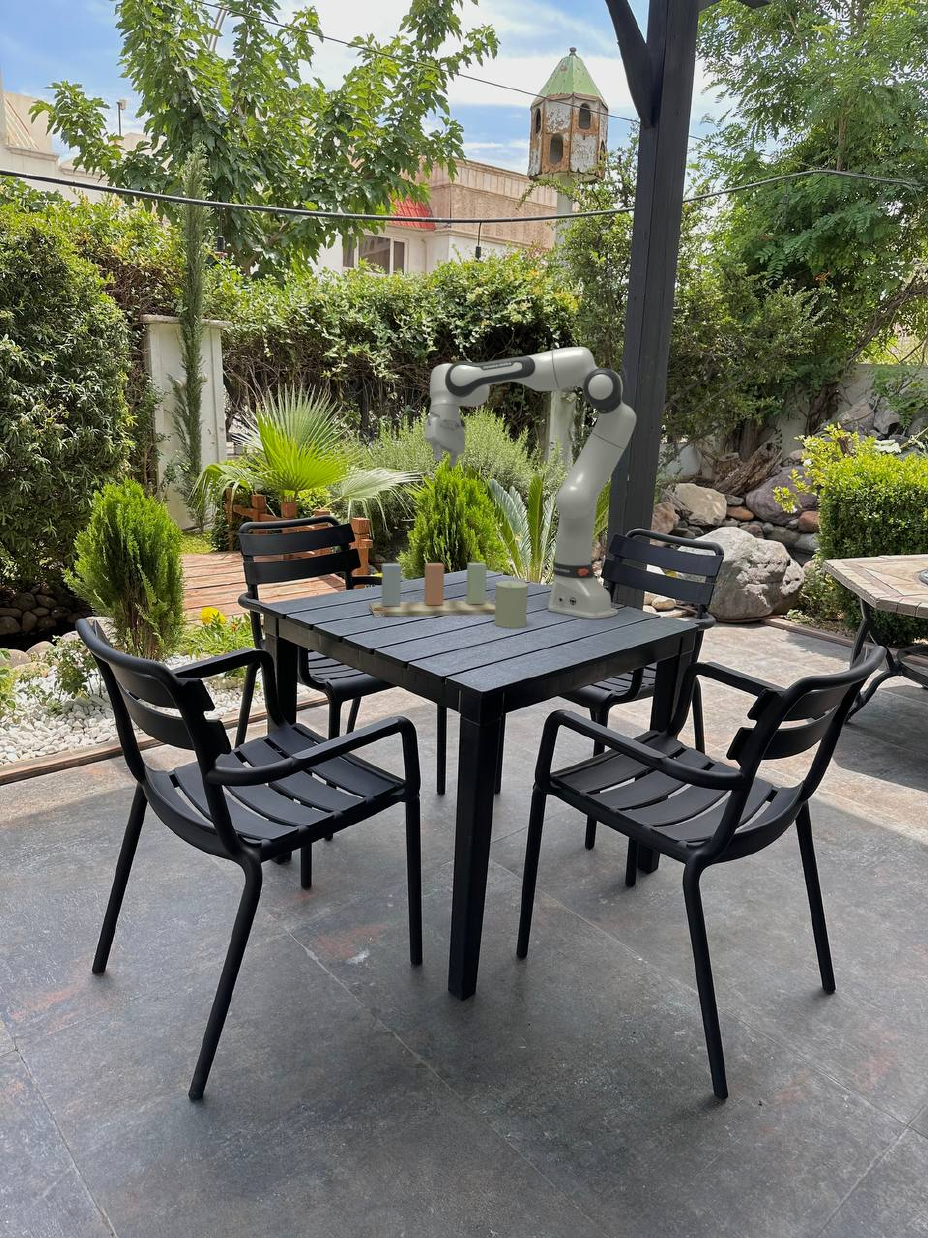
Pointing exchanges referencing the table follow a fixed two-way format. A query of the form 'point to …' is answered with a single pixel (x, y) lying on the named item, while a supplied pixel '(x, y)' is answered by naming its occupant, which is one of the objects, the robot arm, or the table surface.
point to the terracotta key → (434, 583)
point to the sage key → (476, 583)
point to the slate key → (391, 584)
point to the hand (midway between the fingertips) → (445, 463)
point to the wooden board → (433, 609)
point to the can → (511, 604)
